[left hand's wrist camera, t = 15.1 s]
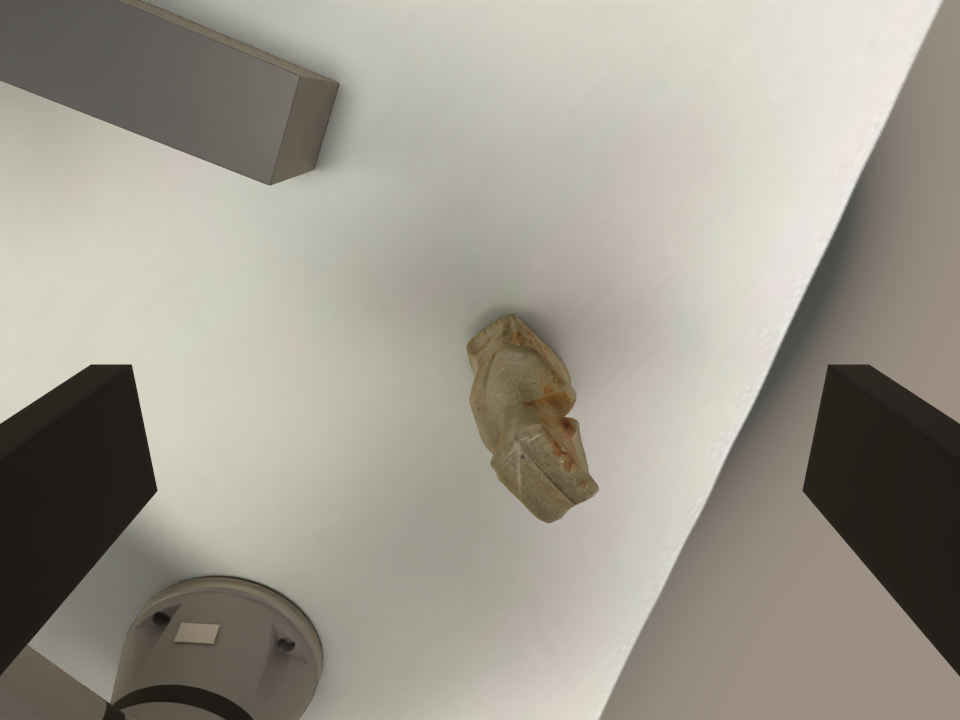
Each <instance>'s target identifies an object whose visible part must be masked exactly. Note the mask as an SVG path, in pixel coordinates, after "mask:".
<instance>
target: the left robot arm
mask: <svg viewBox="0 0 960 720" xmlns="http://www.w3.org/2000/svg"><path fill="white" fill-rule="evenodd" d="M156 492H157V486H156V481H155V476H154V471H153V467H152V462H151V457H150V452H149V447H148V442H147V437H146V432H145V427H144V422H143V418H142V413H141V408H140V403H139V398H138V393H137V388H136V383H135V378H134V373H133V368H132V365H90V366H88V367H87V368H85V369H84V370H82V371H80V372H79V373H77V374H76V375H74V376H73V377H71V378H70V379H68V380H67V381H65V382H64V383H62V384H61V385H59V386H58V387H56V388H54V389H53V390H51V391H50V392H48V393H47V394H45V395H44V396H42V397H41V398H39V399H38V400H36V401H35V402H33V403H31V404H30V405H28V406H27V407H25V408H24V409H22V410H21V411H19V412H18V413H16V414H15V415H13V416H12V417H10V418H9V419H7V420H5V421H4V422H2V423H1V424H0V720H299V719H300V717H301V716H302V714H303V713H304V712H305V710H306V709H307V707H308V705H309V703H310V702H311V700H312V698H313V696H314V693H315V690H316V687H317V683H318V680H319V676H320V673H321V667H322V651H321V646H320V643H319V640H318V637H317V635H316V633H315V630H314V629H313V627H312V625H311V624H310V622H309V621H308V620H307V618H306V617H305V616H304V615H303V614H302V613H301V612H300V610H299V609H297V608H296V607H295V606H294V605H293V604H292V603H290V602H289V601H288V600H286V599H285V598H283V597H282V596H280V595H279V594H277V593H275V592H273V591H271V590H269V589H267V588H265V587H262V586H260V585H257V584H254V583H251V582H248V581H244V580H239V579H233V578H224V577H206V578H197V579H191V580H187V581H183V582H180V583H178V584H175V585H173V586H170V587H168V588H166V589H165V590H163V591H161V592H160V593H159V594H157V595H156V596H154V597H153V598H152V599H151V600H150V601H149V602H148V603H147V604H146V606H145V607H144V608H143V610H142V611H141V613H140V614H139V616H138V617H137V618H136V620H135V621H134V623H133V625H132V626H131V628H130V630H129V632H128V634H127V637H126V640H125V642H124V645H123V649H122V654H121V658H120V662H119V667H118V671H117V676H116V680H115V684H114V689H113V693H112V698H111V702H110V703H108V702H107V701H106V700H104V699H103V698H101V697H100V696H99V695H97V694H96V693H94V692H93V691H91V690H90V689H88V688H87V687H86V686H84V685H83V684H81V683H80V682H78V681H77V680H76V679H74V678H73V677H71V676H70V675H69V674H67V673H66V672H64V671H63V670H62V669H60V668H59V667H57V666H56V665H55V664H53V663H52V662H50V661H49V660H48V659H46V658H45V657H43V656H42V655H41V654H39V653H38V652H36V651H35V650H34V649H32V648H31V647H29V646H28V645H27V644H28V643H29V642H30V641H31V639H32V638H33V637H34V636H35V635H36V633H37V632H38V631H39V630H40V629H41V628H42V626H43V625H44V624H45V623H46V622H47V621H48V619H49V618H50V617H51V616H52V615H53V613H54V612H55V611H56V610H57V609H58V608H59V606H60V605H61V604H62V603H63V602H64V600H65V599H66V598H67V597H68V596H69V595H70V593H71V592H72V591H73V590H74V589H75V587H76V586H77V585H78V584H79V583H80V582H81V580H82V579H83V578H84V577H85V576H86V575H87V573H88V572H89V571H90V570H91V569H92V567H93V566H94V565H95V564H96V563H97V562H98V560H99V559H100V558H101V557H102V556H103V554H104V553H105V552H106V551H107V550H108V549H109V547H110V546H111V545H112V544H113V543H114V542H115V540H116V539H117V538H118V537H119V536H120V534H121V533H122V532H123V531H124V530H125V529H126V527H127V526H128V525H129V524H130V523H131V521H132V520H133V519H134V518H135V517H136V516H137V514H138V513H139V512H140V511H141V510H142V508H143V507H144V506H145V505H146V504H147V503H148V501H149V500H150V499H151V498H152V497H153V496H154V494H155V493H156ZM803 492H804V493H805V494H806V496H807V497H808V498H809V499H810V500H811V501H812V503H813V504H814V505H815V506H816V507H817V508H818V510H819V511H820V512H821V513H822V514H823V516H824V517H825V518H826V519H827V520H828V521H829V523H830V524H831V525H832V526H833V527H834V529H835V530H836V531H837V532H838V533H839V534H840V536H841V537H842V538H843V539H844V540H845V542H846V543H847V544H848V545H849V546H850V547H851V549H852V550H853V551H854V552H855V553H856V554H857V556H858V557H859V558H860V559H861V560H862V562H863V563H864V564H865V565H866V566H867V567H868V569H869V570H870V571H871V572H872V573H873V574H874V576H875V577H876V578H877V579H878V580H879V582H880V583H881V584H882V585H883V586H884V587H885V589H886V590H887V591H888V592H889V593H890V595H891V596H892V597H893V598H894V599H895V600H896V602H897V603H898V604H899V605H900V606H901V608H902V609H903V610H904V611H905V612H906V613H907V615H908V616H909V617H910V618H911V619H912V620H913V622H914V623H915V624H916V625H917V626H918V628H919V629H920V630H921V631H922V632H923V633H924V635H925V636H926V637H927V638H928V639H929V641H930V642H931V643H932V644H933V645H934V646H935V648H936V649H937V650H938V651H939V652H940V654H941V655H942V656H943V657H944V658H945V659H946V661H947V662H948V663H949V664H950V665H951V666H952V668H953V669H954V670H955V671H956V672H957V674H958V675H959V676H960V424H959V423H958V422H956V421H955V420H953V419H951V418H950V417H948V416H947V415H945V414H944V413H942V412H941V411H939V410H938V409H936V408H935V407H933V406H932V405H930V404H929V403H927V402H925V401H924V400H922V399H921V398H919V397H918V396H916V395H915V394H913V393H912V392H910V391H909V390H907V389H906V388H904V387H902V386H901V385H899V384H898V383H896V382H895V381H893V380H892V379H890V378H889V377H887V376H886V375H884V374H883V373H881V372H880V371H878V370H876V369H875V368H873V367H872V366H870V365H828V368H827V373H826V378H825V383H824V388H823V393H822V398H821V403H820V408H819V413H818V418H817V422H816V427H815V432H814V437H813V442H812V447H811V452H810V457H809V462H808V467H807V471H806V476H805V481H804V486H803Z"/></svg>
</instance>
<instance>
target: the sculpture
mask: <svg viewBox="0 0 960 720" xmlns="http://www.w3.org/2000/svg"><path fill="white" fill-rule="evenodd" d="M467 352H468V356H469V360H470V364H471V367H472V370H473V372H474V375H475V377H476V378H475V381H474V384H473V387H472V390H471V394H470V404H471V408H472V411H473V414H474V417H475V420H476V423H477V427H478V430H479V433H480V436H481V438H482V440H483V442H484V444H485V446H486V447H487V449H488V450H489V451H490V452H491V453H493V454H494V455H493V458H492V460H491V466H492V467H493V468H494V470H495V472H496V473H497V477H498V479H499V481H501V482H502V483H503V484H504V485H505V486H506V487H507V488H508V490H509V491H510V492H511V493H512V494H513V495H514V496H515V497H517V498H518V499H519V500H520V501H521V502H522V503H523V504H524V506H525V507H526V508H527V509H528V510H529V511H530V512H531V513H532V514H533V515H534V516H535V517H537V518H538V519H539V520H541V521H544V522H546V523H551V522H554V521H556V520H558V519H560V518H562V517H563V516H564V514H565V513H566V512H567V511H568V510H569V509H570V508H571V507H573V506H575V505H577V504H579V503H581V502H584V501H586V500H588V499H589V498H591V497H593V496H594V495H595V494H596V493H597V492H598V489H599V488H598V485H597V484H596V482H595V481H594V480H593V478H592V477H591V476H590V474H589V472H588V465H587V461H586V456H585V452H584V449H583V445H582V442H581V437H580V431H579V423H578V421H577V420H575V419H573V418H568V417H565V416H566V415H567V414H568V413H569V411H570V410H571V409H572V407H573V406H574V403H575V401H576V393H575V390H574V389H573V388H572V386H571V385H570V384H571V379H570V375H569V373H568V371H567V369H566V367H565V366H564V364H563V362H562V361H561V360H560V359H559V357H558V356H557V355H556V354H555V353H554V352H553V351H552V350H551V349H550V348H549V347H548V346H547V345H546V344H545V343H544V342H543V341H542V340H541V339H540V338H539V337H538V336H537V335H535V334H534V333H533V332H532V331H531V330H530V329H529V328H528V327H527V326H526V325H525V324H524V323H523V322H522V321H521V320H520V319H519V318H518V317H517V316H516V315H514V314H510V315H508V316H506V317H503V318H501V319H499V320H497V321H495V322H494V323H492V324H491V325H489V326H488V327H487V328H485V329H484V330H482V331H481V332H480V333H478V334H477V335H476V336H475V337H474V338H473V339H472V340H471V341H470V342H469V343H468V344H467Z"/></svg>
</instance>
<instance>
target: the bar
mask: <svg viewBox="0 0 960 720" xmlns="http://www.w3.org/2000/svg"><path fill="white" fill-rule="evenodd" d="M0 81H3V82H6V83H8V84H11V85H13V86H16V87H18V88H21V89H23V90H26V91H29V92H31V93H34V94H36V95H39V96H41V97H44V98H47V99H49V100H52V101H54V102H57V103H59V104H62V105H64V106H67V107H70V108H72V109H75V110H77V111H80V112H82V113H85V114H88V115H90V116H93V117H95V118H98V119H100V120H103V121H105V122H108V123H111V124H113V125H116V126H118V127H121V128H123V129H126V130H129V131H131V132H134V133H136V134H139V135H141V136H144V137H146V138H149V139H152V140H154V141H157V142H159V143H162V144H164V145H167V146H170V147H172V148H175V149H177V150H180V151H182V152H185V153H187V154H190V155H193V156H195V157H198V158H200V159H203V160H205V161H208V162H211V163H213V164H216V165H218V166H221V167H223V168H226V169H228V170H231V171H234V172H236V173H239V174H241V175H244V176H246V177H249V178H252V179H254V180H257V181H259V182H262V183H264V184H267V185H273V184H276V183H279V182H281V181H284V180H287V179H290V178H293V177H295V176H298V175H301V174H304V173H307V172H309V171H312V170H314V168H315V165H316V161H317V158H318V154H319V151H320V148H321V144H322V141H323V137H324V134H325V131H326V127H327V124H328V120H329V117H330V114H331V110H332V107H333V103H334V100H335V97H336V93H337V90H338V86H339V83H338V82H336V81H333V80H331V79H328V78H326V77H324V76H321V75H319V74H316V73H314V72H312V71H309V70H307V69H304V68H302V67H300V66H297V65H295V64H292V63H290V62H288V61H285V60H283V59H280V58H278V57H276V56H273V55H271V54H268V53H266V52H264V51H261V50H259V49H257V48H254V47H252V46H249V45H247V44H245V43H242V42H240V41H237V40H235V39H233V38H230V37H228V36H225V35H223V34H221V33H218V32H216V31H213V30H211V29H209V28H206V27H204V26H201V25H199V24H197V23H194V22H192V21H189V20H187V19H185V18H182V17H180V16H177V15H175V14H173V13H170V12H168V11H165V10H163V9H161V8H158V7H156V6H153V5H151V4H149V3H146V2H144V1H142V0H0Z"/></svg>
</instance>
